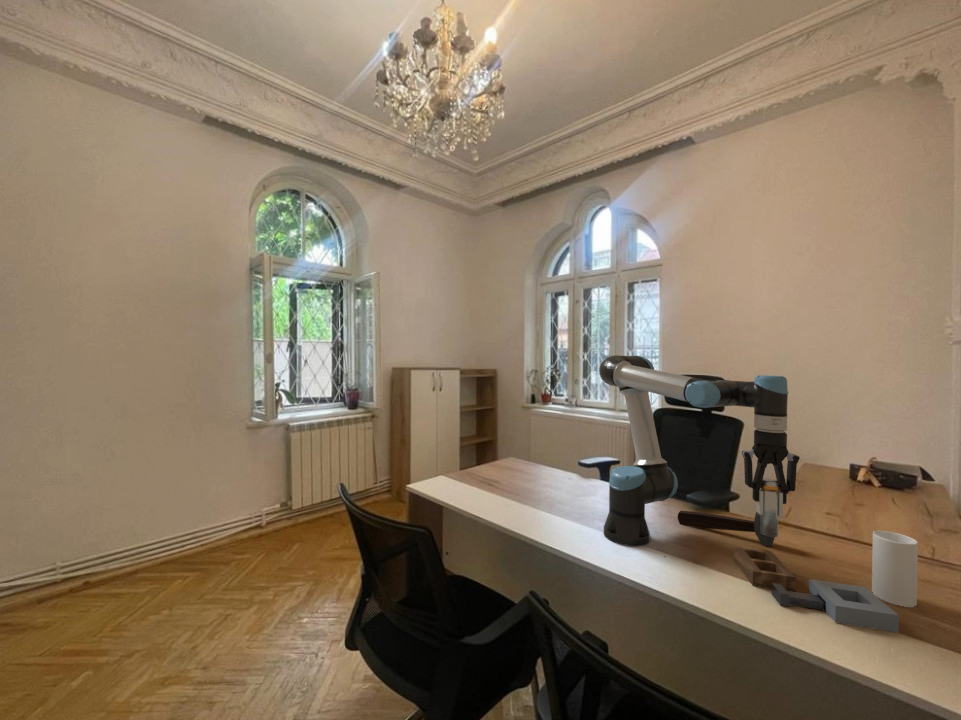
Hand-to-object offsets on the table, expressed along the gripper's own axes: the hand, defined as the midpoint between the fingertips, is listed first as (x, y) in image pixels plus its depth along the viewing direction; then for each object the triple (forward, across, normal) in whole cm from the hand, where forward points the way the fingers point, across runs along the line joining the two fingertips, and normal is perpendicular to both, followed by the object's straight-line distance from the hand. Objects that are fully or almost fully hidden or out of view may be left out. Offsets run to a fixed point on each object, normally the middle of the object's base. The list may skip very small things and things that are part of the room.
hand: (769, 513), depth 112 cm
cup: (+19, +29, +1) cm, 35 cm away
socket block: (+19, +14, -10) cm, 25 cm away
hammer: (+19, -2, +32) cm, 37 cm away
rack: (+19, 0, +4) cm, 19 cm away
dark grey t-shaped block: (+19, +3, -10) cm, 21 cm away
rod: (+6, 0, 0) cm, 6 cm away
